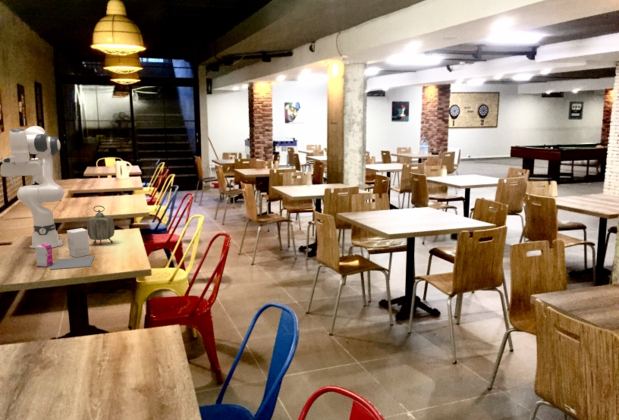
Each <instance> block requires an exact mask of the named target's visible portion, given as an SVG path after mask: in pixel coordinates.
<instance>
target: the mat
mask: <svg viewBox="0 0 619 420" xmlns="http://www.w3.org/2000/svg"><path fill="white" fill-rule="evenodd" d="M94 259H95V256H94V255H93V256H81V257H76V258H75V257H68V258H56V259H55V261H53V265H51V266H50V268H49V270H50V271H53V270H54V271H55V270H56V271H57V270H65V269H66V270H67V269H69V270H70V269H78V268H79V269H80V268H91V266H92V263H93V261H94Z"/></svg>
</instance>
